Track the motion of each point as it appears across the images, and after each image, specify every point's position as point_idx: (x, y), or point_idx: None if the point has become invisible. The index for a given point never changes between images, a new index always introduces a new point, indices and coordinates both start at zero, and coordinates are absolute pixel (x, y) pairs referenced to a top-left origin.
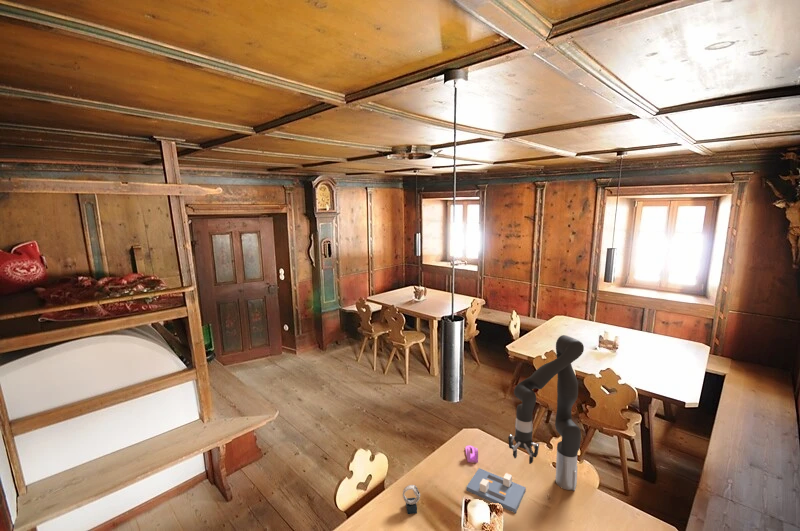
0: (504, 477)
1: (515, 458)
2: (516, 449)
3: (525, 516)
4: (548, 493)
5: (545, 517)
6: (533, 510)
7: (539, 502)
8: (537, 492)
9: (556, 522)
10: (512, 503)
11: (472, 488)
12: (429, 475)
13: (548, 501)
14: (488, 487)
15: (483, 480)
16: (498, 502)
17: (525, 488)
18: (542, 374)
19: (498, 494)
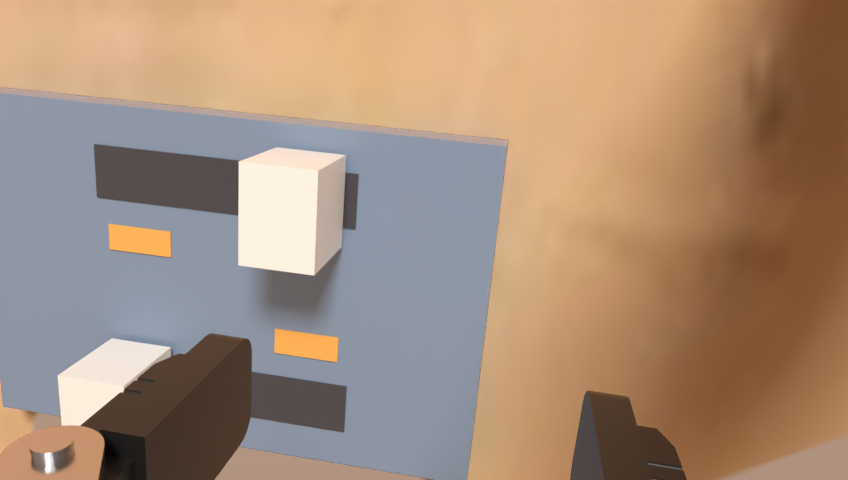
0: (249, 253)
1: (245, 425)
2: (129, 462)
3: (555, 458)
4: (764, 42)
5: (733, 399)
6: (616, 364)
7: (667, 235)
8: (636, 92)
9: (839, 416)
10: (423, 431)
11: (55, 404)
12: None
13: (764, 175)
14: (164, 359)
15: (75, 404)
16: (307, 451)
17: (505, 155)
18: None
19: (277, 380)
